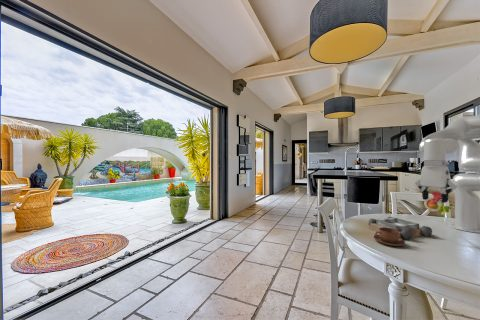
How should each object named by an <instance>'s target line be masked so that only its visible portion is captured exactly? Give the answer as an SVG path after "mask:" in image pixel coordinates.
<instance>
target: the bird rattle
mask: <svg viewBox="0 0 480 320" xmlns="http://www.w3.org/2000/svg"><path fill="white" fill-rule="evenodd" d="M441 194H442V193H441V192H439V191H431V195H432V197H431V196H429V198H427V199H426V200H424V202H423V204H424V207H425V209H426V210H428V212H429V213H432V212H433V213H438V212H440V213H441V215H445V214H446V213H449V212H450V210H451V209H452V207H451V206H449V205H445V203H443V202H441Z"/></svg>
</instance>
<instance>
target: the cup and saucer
mask: <svg viewBox="0 0 480 320" xmlns="http://www.w3.org/2000/svg"><path fill="white" fill-rule="evenodd" d="M373 239H374V240H376V241H377V242H378V243H380V244H383V245H388V246H392V247H402V246H403V245H405V244H406V241H405V239H400V238H399V232H398V231H397V230H395V229H391V228H379V232H377V231H375V233H374V235H373Z"/></svg>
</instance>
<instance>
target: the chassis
mask: <svg viewBox="0 0 480 320" xmlns="http://www.w3.org/2000/svg"><path fill="white" fill-rule="evenodd" d="M367 224H368V226H369V230H371V231H375V232H379V228H391V229H395V230H397V231H398V232H399V238H400V239H402V240H407V241H410V240H411V239H412V238H416V237H423V236H424V237H426V238H430V237H431V236H432V233H433V230H432V228H431V227H430V226H428V225H423V226H420V223H417V222H413V221H409V220H406V219H402V218H398V217H393V216H388V217H387V218H381V219H375V218H370V219H369V220H368V223H367Z"/></svg>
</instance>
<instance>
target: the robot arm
mask: <svg viewBox="0 0 480 320" xmlns="http://www.w3.org/2000/svg"><path fill="white" fill-rule="evenodd" d="M475 139H480V114H476V115H470V116H464V117H463V116H462V117H458V118H455V119H453V120H452V121H450V122H449V124H448V125H447V126H446V127H445V128H443V129H440V130H438V131H435V132H433V133H430V134H428V135H426V136H425V137H424V138H423V139H422V140H421V141H420V143H419V145H418V146H419V148H418V150H419V152H420V153H421V154H423V166H422V168H421V172H420V179H419V180H417V181H416V182H414V183H415V186H417V188H418V189H419V190H420V192H421V195H422V200H424V201H425V200H426V199H427V198H430V196H429V191H428V190H429V188H437V189H440V191H441V192H442V193H440V194H441V202H443V203H444V204H445V203H448V201H449V195H450V193H451V192H454V218H455V219H454V223H452V224H451V227H452V229H456V230H459V231H463V232H470V233H475V234H476V233H477V234H480V197H479V195H478V194H477V193H475V192H480V144H479V143H478V142H477V141H476V140H475ZM458 150H459V153H458V154H459V155H458V156H459V157H458V162H457V163H458V164H457V165H458V169H459V170H460V171H462V172H463V173H456V174H455V175H454V176H453V177H452V179H451V173H450V170H449V167H448V166H449V165H450V162H449V161H447V160H446V154H447V155H450V154H454V153H456V152H457V151H458ZM464 172H465V173H464ZM466 172H468V173H466ZM469 172H470V173H469ZM451 180H452V181H451Z"/></svg>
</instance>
